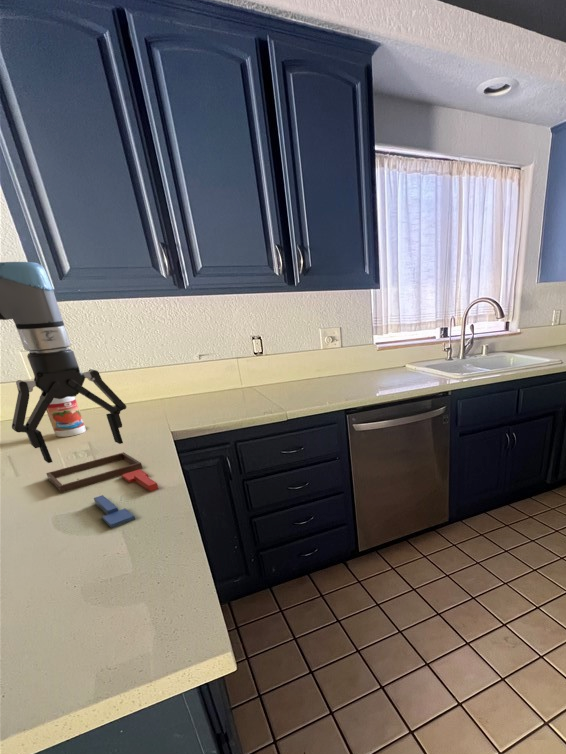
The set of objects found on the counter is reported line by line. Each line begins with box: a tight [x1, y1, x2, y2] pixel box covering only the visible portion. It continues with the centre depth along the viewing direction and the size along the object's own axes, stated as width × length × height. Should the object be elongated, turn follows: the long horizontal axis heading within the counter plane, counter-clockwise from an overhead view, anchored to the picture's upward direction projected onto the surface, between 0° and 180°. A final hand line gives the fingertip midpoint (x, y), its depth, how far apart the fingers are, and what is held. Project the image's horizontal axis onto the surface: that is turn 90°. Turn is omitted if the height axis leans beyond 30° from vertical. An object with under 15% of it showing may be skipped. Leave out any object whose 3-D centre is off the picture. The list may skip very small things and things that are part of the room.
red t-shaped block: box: [121, 469, 159, 492], centre depth 112 cm, size 16×5×2 cm, turn 48°
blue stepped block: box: [93, 494, 136, 529], centre depth 97 cm, size 16×5×2 cm, turn 48°
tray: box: [45, 452, 143, 494], centre depth 118 cm, size 20×14×2 cm
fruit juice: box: [40, 389, 86, 438], centre depth 150 cm, size 9×9×28 cm
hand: (85, 451), depth 93 cm, fingers open, 13 cm apart
